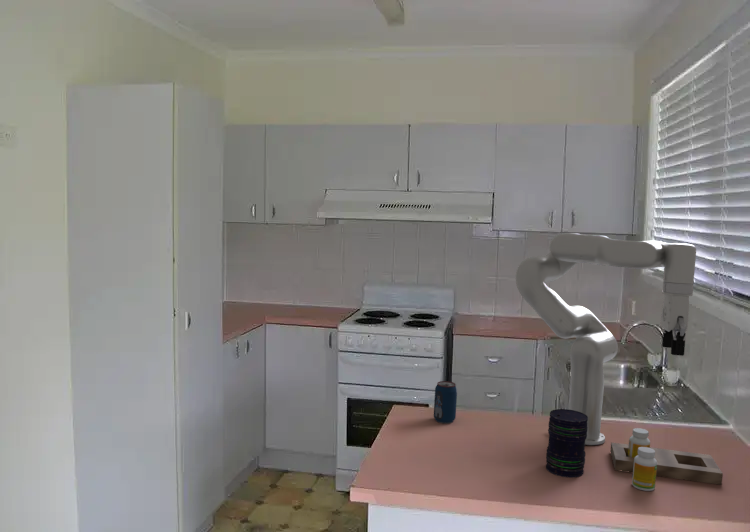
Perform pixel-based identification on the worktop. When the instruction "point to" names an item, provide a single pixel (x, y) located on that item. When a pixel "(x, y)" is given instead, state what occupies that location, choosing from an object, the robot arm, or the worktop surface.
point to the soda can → (445, 402)
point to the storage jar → (566, 443)
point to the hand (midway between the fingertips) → (672, 351)
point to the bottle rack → (672, 464)
